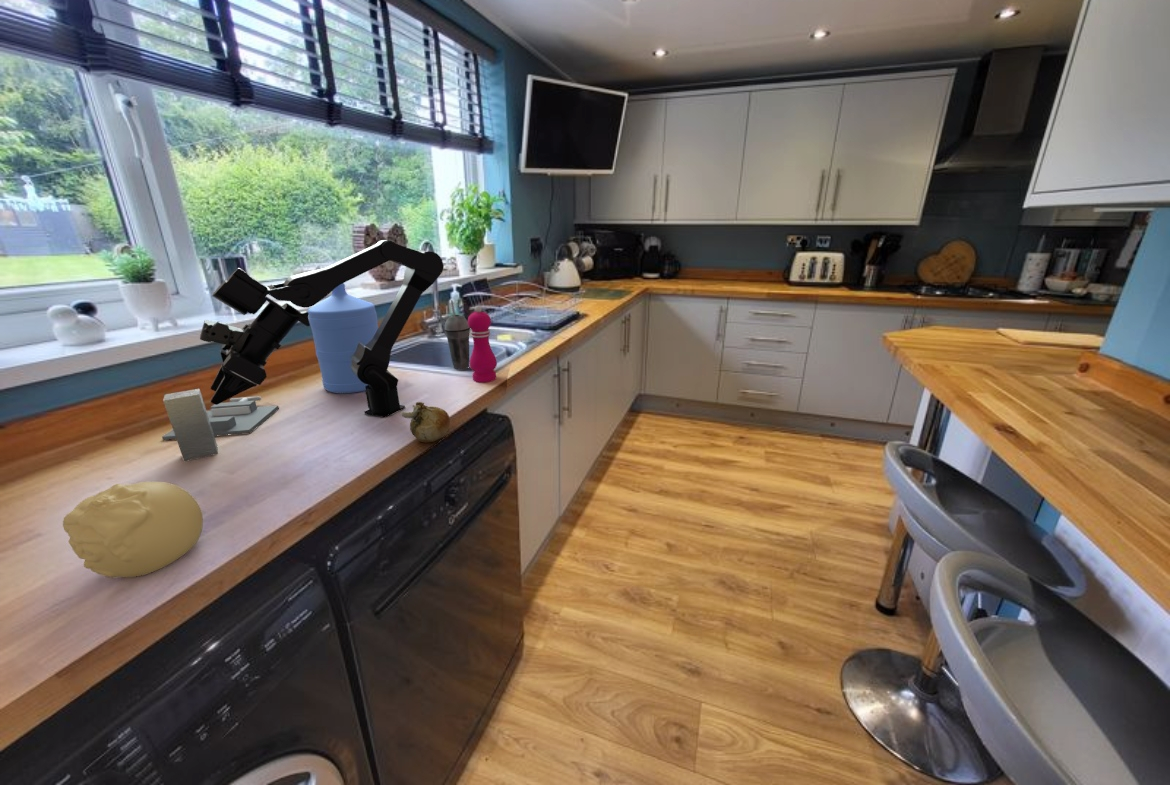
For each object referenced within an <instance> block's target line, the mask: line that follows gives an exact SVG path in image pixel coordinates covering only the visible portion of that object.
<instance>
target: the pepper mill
mask: <svg viewBox="0 0 1170 785" xmlns="http://www.w3.org/2000/svg"><path fill="white" fill-rule="evenodd" d="M482 310H483V309H482V307H481V306H480V305H476V306H475V307H474V312H472V313H470V314H469V316H468V317H467V321H468V326H469V327H470V336H471V337H472V340H473V345H472V346H473V347H472V348H473V349H472V352H471V355H470V356H469V368H470V369H471V370H472V371H473V373H472V380H473V381H474V382H475V381H476V383H489V382H492V381H495V380H496V379H497V372H496V371H495V369H496V367H497V365H498V362H497V358H496V355H495V353H494V352H493V350H492V347H491V344H490V340H489V339H490V336H491V333H490V332H491V330H490V327H491V325H492V320H491V316H490V315H489V314H488V313H487V312H484V311H482Z"/></svg>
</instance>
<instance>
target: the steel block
mask: <svg viewBox="0 0 1170 785" xmlns="http://www.w3.org/2000/svg"><path fill="white" fill-rule="evenodd" d="M162 401H163V402H162V403H163V404H164V407H165V410H166V412H167V417H168V418H169V422H170V425H171V428H172V430H173V431H174V434H175V436H176V439H175V440H176V443H177V445H178V448H179V451H180V454H181V456H182V457H181V458H182V459H183V462H184V461H185V462H188V460H189V461H193V460H197V458H198V459H201V457H202V458H205V456H206V457H210V456H214V455H213V454H215V455H218V454H219V448H218V447H217V446H218V443H217V440H216V436H214V433H213V430H212V427H211V424H210V421H209V417H208V414H207V411H208V410H207V409H206V404H205V402H204V399H203V395H202V392H201V390H200V388H195V389H189V390H183V391H177V392H172V393H166V394H164V395H163V399H162ZM209 455H210V456H209Z"/></svg>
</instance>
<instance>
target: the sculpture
mask: <svg viewBox="0 0 1170 785" xmlns="http://www.w3.org/2000/svg"><path fill="white" fill-rule="evenodd" d="M201 509H202V508H201V507H200V504H199V503H198V501H197V500H196V498H195V497H193V495H191V493H190V492H189V491H187V490H186V489H184V488H182V487H181V486H178V485H177V484H174V483H173V484H172V483H169V482H164V481H143V482H136V483H132V484H120V483H115V484H113V485H112V486H110V487H109V488H107V489H105V490H101V491H99V492H98V493H96V494H94V495H92V496H89V497H87V498H85V499H83V500H81V502H79V503H78V504H77V505H76V506H75V507H74V508H73V510H72V511H70V512H68V513H67V514H65V516H64V517H63V520H62V526H63V530H64V532H66V533H67V535H68V536H69V539H68V544H69V545H70V547H71V549H72V551H73V552H74V554H75V555H76V556H77V557H78V558H79V559H81V560H84V562H83V567H84V568H85V569H89V570H90V571H91V572H93V573H96V574H97V575H101V576H105V577H106V578H137V577H141V575H142V576H145V574H146V575H148V573H149V574H151V572H152V573H153V572H157V571H158V570H159V571H160V570H161V569H162V568H165V567H167V566H169V565H170V564H172V563H173V562H175V561H177V560H178V559H179V558H181V557H183V555H185V554H186V553H188V552H189V551H190V550H191V549H192V548H193V547H194V546H195V544H197V542H198V541H199V539H200V536H201V534H202V531H203V527H204V526H203V525H204V519H203V518H204V517H203V512H202V510H201ZM136 576H137V577H136Z"/></svg>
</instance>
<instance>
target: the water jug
mask: <svg viewBox="0 0 1170 785" xmlns="http://www.w3.org/2000/svg"><path fill="white" fill-rule="evenodd" d="M345 287H346V285H345V282H344V283H342V284H340V285H339V286H337V287H336V288H335V289H334V290H333V291H332V292H331V295H330V296H327V298H326V297H325V299H322V300H320V301H319V302H318V303H316V304H315V305H313V306H311V307H308V310H307V312H308V313H309V314H308V319H309V323H310V326H309V327H310V329H311V334H312V338H313V342H314V347H315V355H316V358H317V360H318V364H319V365H318V366H319V369H320V374H321V381H322V385H323V388H324V389H325V390H326V391H328V392H330V393H334V394H351V393H352V394H353V393H361V392H366V388H365V386H367V385H368V384H364V383H363V382H361V381H360V380H359V379H358V377H357V376H356V375H355V374H354V373H353V371H352V369H351V362H352V359H351V358H350V357H351V356H352V355H353V354H354V353H355V351H356V349H357V346H358V344H359V342H360V343H362V344H363V345H366V344H367V343H368V342H370V341H371V340H372V338H373V337H374V335H375V333H376V332H377V330H378V328H379V325H378V314H377V311H376V306H375V304H374V303H373V302H370V301H367V300H364V299H362V298H359V297H355V296H353V295H351V294H349V293H348V292H347V291H346V288H345Z"/></svg>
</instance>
